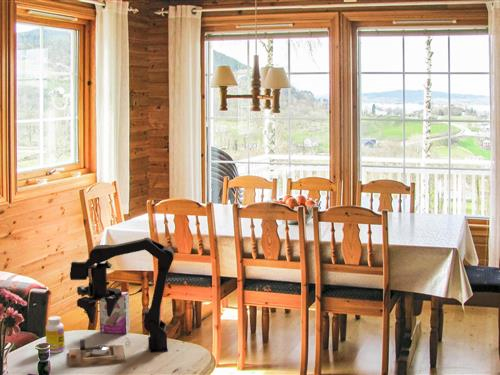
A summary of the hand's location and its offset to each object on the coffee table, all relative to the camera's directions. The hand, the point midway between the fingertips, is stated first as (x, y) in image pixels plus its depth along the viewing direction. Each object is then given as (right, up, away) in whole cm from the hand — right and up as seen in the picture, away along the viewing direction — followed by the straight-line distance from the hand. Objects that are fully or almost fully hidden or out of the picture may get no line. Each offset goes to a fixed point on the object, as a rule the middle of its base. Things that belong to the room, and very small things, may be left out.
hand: (100, 319), depth 291 cm
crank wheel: (-1, -12, -7) cm, 14 cm away
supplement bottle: (-17, -12, +2) cm, 21 cm away
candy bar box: (+2, -9, +22) cm, 24 cm away
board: (0, -13, -5) cm, 14 cm away
